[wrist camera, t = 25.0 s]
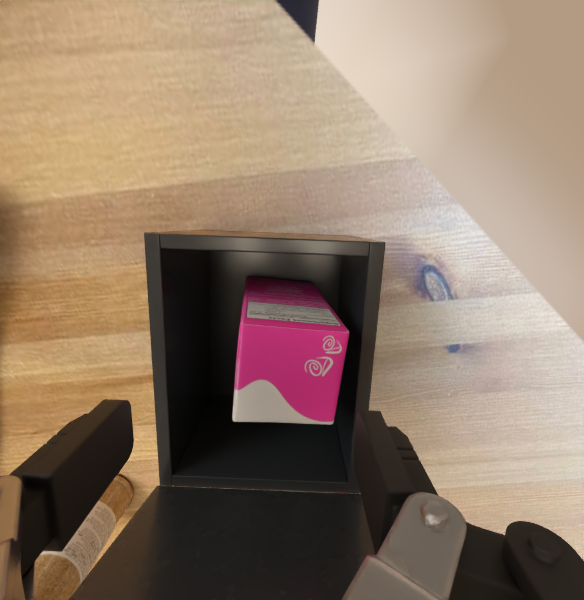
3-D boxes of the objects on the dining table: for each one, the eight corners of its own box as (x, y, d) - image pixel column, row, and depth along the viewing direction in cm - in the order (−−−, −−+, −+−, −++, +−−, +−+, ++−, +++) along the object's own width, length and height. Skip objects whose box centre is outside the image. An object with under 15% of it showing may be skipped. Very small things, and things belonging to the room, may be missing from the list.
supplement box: (307, 344, 29) (334, 430, 18) (240, 338, 28) (224, 424, 17) (316, 280, 27) (352, 332, 16) (245, 273, 27) (232, 321, 16)
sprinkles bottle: (96, 509, 34) (-30, 688, 21) (86, 472, 33) (-52, 635, 20) (139, 506, 34) (40, 684, 21) (130, 469, 33) (20, 631, 20)
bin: (202, 229, 27) (143, 232, 17) (351, 235, 27) (385, 242, 17) (206, 397, 31) (159, 486, 20) (338, 402, 31) (360, 494, 20)
